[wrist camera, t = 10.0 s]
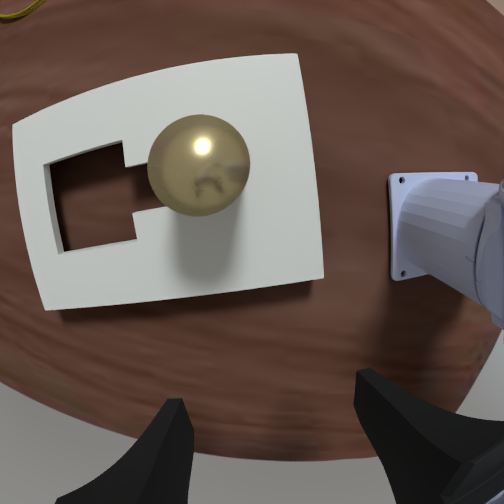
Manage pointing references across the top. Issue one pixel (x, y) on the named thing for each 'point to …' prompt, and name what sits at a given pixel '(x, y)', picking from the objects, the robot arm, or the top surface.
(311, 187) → the keyhole plate
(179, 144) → the gold cylindrical piece
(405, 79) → the top surface
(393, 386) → the robot arm
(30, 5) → the yellow coiled cable
